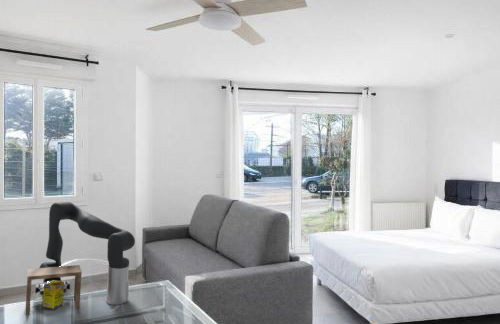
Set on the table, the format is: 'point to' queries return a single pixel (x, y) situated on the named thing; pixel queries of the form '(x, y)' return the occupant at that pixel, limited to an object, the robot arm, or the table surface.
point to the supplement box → (53, 295)
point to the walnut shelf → (54, 273)
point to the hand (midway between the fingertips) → (53, 292)
